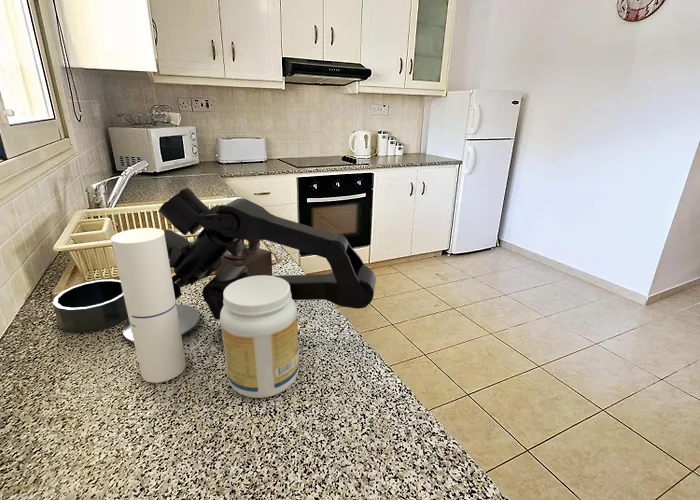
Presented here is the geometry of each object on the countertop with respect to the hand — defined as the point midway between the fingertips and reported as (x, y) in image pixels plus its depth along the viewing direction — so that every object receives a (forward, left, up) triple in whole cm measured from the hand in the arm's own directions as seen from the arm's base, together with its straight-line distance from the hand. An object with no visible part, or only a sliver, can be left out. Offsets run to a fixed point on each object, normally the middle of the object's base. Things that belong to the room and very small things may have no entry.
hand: (162, 296), depth 76 cm
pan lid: (+1, +1, -6) cm, 7 cm away
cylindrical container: (-14, +2, -7) cm, 16 cm away
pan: (+12, +13, -7) cm, 19 cm away
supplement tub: (-24, -13, -7) cm, 29 cm away
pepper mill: (+9, -20, -7) cm, 23 cm away
